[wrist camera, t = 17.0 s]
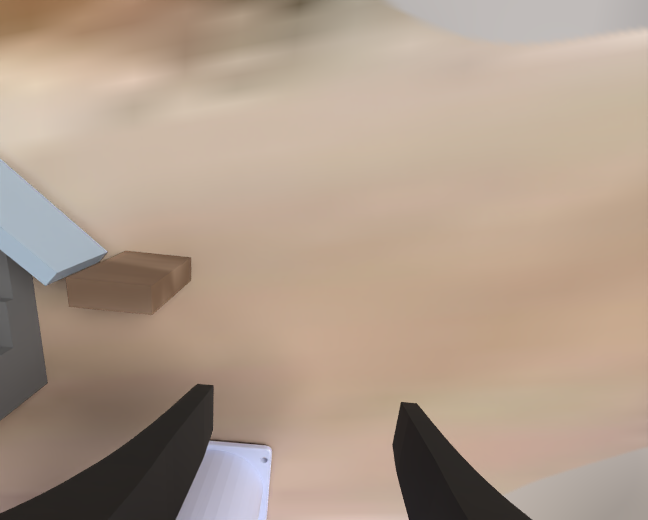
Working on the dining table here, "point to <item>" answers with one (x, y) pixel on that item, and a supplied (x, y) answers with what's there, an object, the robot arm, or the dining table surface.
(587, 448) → the dining table surface
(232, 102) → the dining table surface
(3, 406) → the notched block
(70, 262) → the door leaf
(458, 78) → the dining table surface
